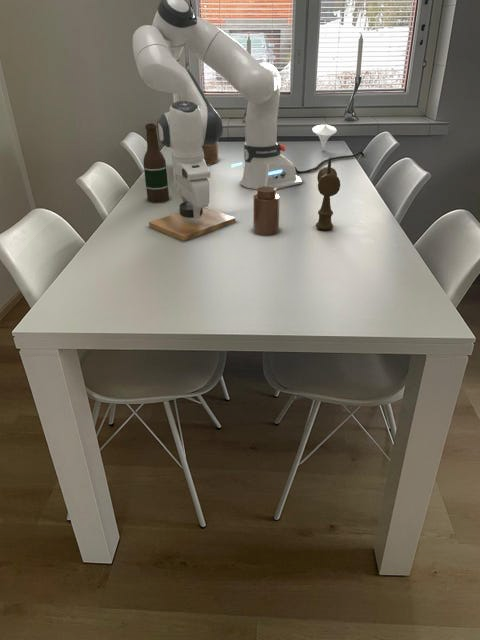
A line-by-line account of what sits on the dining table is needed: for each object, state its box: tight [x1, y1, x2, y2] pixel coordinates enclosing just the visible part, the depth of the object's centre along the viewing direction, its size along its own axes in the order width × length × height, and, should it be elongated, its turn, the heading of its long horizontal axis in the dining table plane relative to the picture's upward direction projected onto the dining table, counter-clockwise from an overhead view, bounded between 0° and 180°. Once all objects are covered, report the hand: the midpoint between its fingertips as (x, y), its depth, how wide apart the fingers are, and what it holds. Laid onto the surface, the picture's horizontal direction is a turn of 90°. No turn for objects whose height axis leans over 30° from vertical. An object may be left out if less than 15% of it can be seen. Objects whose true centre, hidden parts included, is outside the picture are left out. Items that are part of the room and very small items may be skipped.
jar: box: [252, 186, 280, 236], centre depth 137 cm, size 7×7×12 cm
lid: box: [178, 201, 203, 218], centre depth 143 cm, size 7×7×2 cm
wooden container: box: [202, 141, 219, 165], centre depth 204 cm, size 15×15×22 cm
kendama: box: [315, 157, 341, 231], centre depth 136 cm, size 6×10×20 cm, turn 175°
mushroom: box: [311, 123, 338, 152], centre depth 220 cm, size 10×11×12 cm
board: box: [148, 207, 237, 242], centre depth 145 cm, size 20×16×2 cm
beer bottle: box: [143, 123, 170, 203], centre depth 160 cm, size 8×8×24 cm
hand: (191, 213), depth 143 cm, fingers closed on lid, 6 cm apart
